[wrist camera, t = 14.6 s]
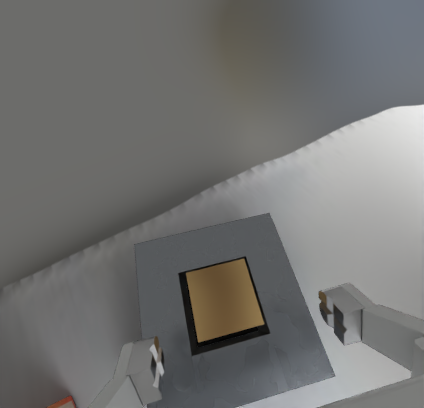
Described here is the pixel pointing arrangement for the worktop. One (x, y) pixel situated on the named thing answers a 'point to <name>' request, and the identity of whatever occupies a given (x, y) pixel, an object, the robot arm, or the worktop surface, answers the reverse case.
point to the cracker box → (64, 403)
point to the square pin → (223, 300)
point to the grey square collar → (238, 346)
